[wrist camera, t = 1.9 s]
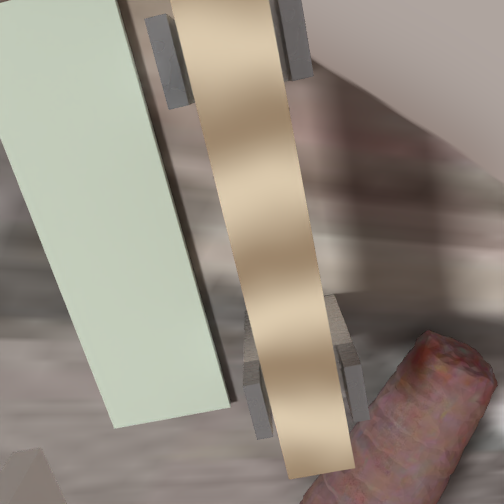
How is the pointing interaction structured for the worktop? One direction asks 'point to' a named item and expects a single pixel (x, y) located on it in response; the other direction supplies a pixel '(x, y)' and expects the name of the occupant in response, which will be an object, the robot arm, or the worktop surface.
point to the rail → (267, 222)
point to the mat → (105, 207)
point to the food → (413, 428)
